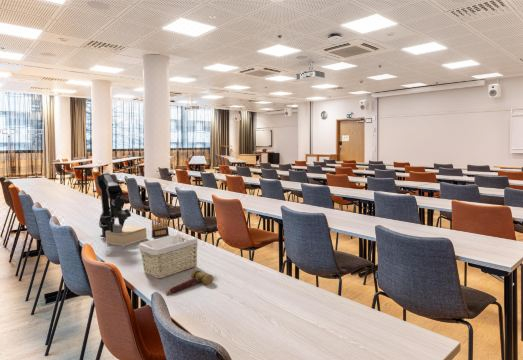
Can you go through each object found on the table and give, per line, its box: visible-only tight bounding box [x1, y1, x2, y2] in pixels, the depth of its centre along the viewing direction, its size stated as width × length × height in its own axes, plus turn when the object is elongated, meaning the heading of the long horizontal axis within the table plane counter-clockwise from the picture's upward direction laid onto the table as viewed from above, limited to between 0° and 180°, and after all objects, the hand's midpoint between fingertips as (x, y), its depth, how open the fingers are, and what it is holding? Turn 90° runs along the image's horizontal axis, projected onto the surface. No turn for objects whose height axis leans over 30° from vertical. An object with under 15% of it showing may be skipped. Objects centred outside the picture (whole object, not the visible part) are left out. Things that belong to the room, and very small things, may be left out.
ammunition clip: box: [151, 217, 170, 239], centre depth 245 cm, size 11×2×12 cm, turn 122°
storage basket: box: [138, 233, 199, 279], centre depth 182 cm, size 24×16×15 cm
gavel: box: [165, 269, 214, 295], centre depth 160 cm, size 21×5×10 cm
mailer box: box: [105, 228, 148, 247], centre depth 236 cm, size 16×18×6 cm
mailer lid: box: [105, 223, 147, 236], centre depth 236 cm, size 16×18×5 cm
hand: (116, 230), depth 230 cm, fingers open, 7 cm apart
